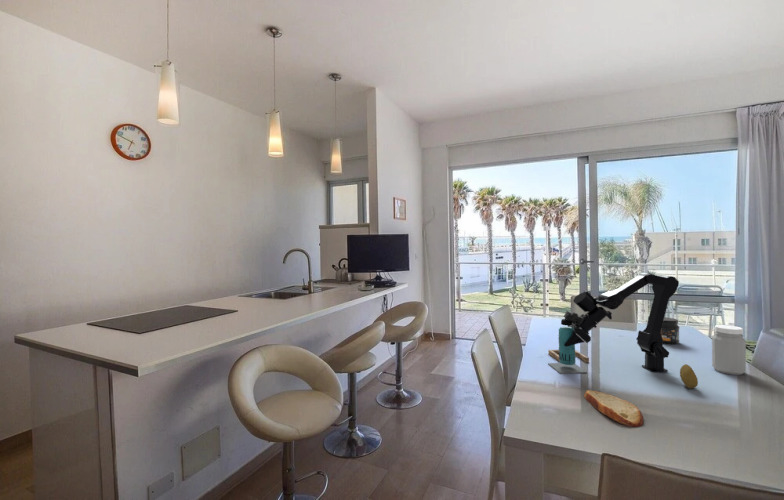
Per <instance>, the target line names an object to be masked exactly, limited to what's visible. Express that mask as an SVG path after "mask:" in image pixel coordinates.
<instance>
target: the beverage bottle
mask: <svg viewBox="0 0 784 500" xmlns="http://www.w3.org/2000/svg"><path fill="white" fill-rule="evenodd" d="M560 321H561V322H560V325H562V326H560V327H559V328H558V335H557V336H558V350H559V361H560V362H559V361H558V362H559V363H562V364H565V365H574V364H576V356H575V355H576V354H575V350H576V344H574V345H571V346H567V347H565V346H564V344H565V342H566V341H567V340H568V339H569V338H570V336H571V335H572V330H573V331H574V329H573V328H572V327H568V326H569V325H572V321H570V320H567V319H565V318H562V319H560Z"/></svg>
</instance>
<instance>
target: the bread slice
mask: <svg viewBox="0 0 784 500" xmlns="http://www.w3.org/2000/svg"><path fill="white" fill-rule="evenodd" d="M583 397H584V399H585V400H586V401H587V402H588V403H589V404H590V405H592V407H594V409H596V410H598V412H600V413H602V415H604V416H606V417H608V418H609V419H611V420H613V421H615V422H616V423H618V424H620V425H623V426H626V427H629V428H638V427H642V426H643V424H644V420H645V419H644V415H643V414H642V411H641V410H640V409H639V408H638V407H637V406H636V405H634V404H633V403H631V402H630V401H628V400H625V399H622V398H619V397H617V396H615V395H612V394H608V393H605V392H601V391H596V390H590V389H589V390H588V389H587V390H586V391H585V393H584V395H583Z"/></svg>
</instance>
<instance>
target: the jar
mask: <svg viewBox="0 0 784 500" xmlns="http://www.w3.org/2000/svg"><path fill="white" fill-rule="evenodd" d="M713 328H714V331H715V332H714V335H712V337H711V347H712V348H711V364H712V365H711V366H712V368H714V370H715V371H716V372H719V373H723V374H727V375H734V376H740V375H741V376H742V375H743V374H744V373H745V372H747V371H746V369H747V367H746V366H747V365H746V364H747V363H746V360H747V359H746V357H747V354H746V353H747V349H746V348H747V346H746V345H747V342H746V340H745V339H744V335H743V334H744V328H743V327H740V326H736V325H730V324H729V325H728V324H716V325H714V327H713Z"/></svg>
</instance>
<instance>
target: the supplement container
mask: <svg viewBox="0 0 784 500" xmlns="http://www.w3.org/2000/svg"><path fill="white" fill-rule="evenodd" d="M661 335H662V338H663V344H664V345H677V344H679V343H680V326H679V319H677V318H672V317H664V320H663V324H662V328H661Z"/></svg>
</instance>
